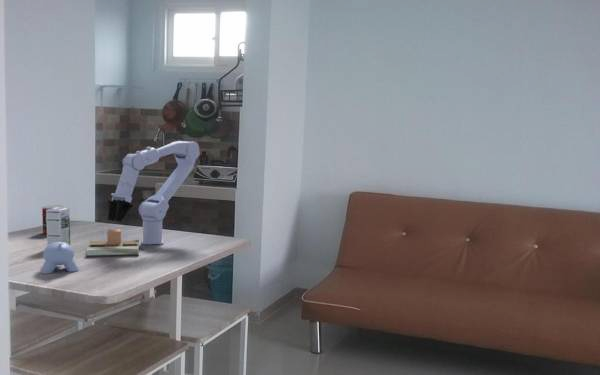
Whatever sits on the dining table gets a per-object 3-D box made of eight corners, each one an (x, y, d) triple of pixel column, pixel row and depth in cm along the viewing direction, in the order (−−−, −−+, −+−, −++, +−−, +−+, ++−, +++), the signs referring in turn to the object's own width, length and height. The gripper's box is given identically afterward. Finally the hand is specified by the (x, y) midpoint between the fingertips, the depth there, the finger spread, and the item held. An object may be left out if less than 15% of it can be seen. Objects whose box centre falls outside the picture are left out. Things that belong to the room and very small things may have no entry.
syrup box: (61, 250, 215) (60, 209, 213) (46, 249, 216) (45, 208, 214) (70, 247, 220) (70, 207, 219) (56, 246, 221) (55, 206, 220)
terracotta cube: (108, 241, 219) (108, 229, 218) (121, 241, 220) (121, 229, 220) (107, 244, 215) (107, 231, 214) (120, 244, 216) (120, 231, 215)
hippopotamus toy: (76, 262, 197) (75, 233, 196) (79, 273, 184) (79, 242, 183) (40, 264, 193) (39, 235, 192) (41, 276, 179) (40, 244, 178)
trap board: (90, 247, 220) (90, 240, 220) (138, 246, 225) (138, 239, 224) (86, 257, 205) (86, 249, 205) (138, 255, 209) (138, 248, 209)
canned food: (38, 233, 244) (38, 206, 242) (52, 230, 251) (51, 204, 250) (54, 235, 241) (54, 208, 240) (67, 232, 249) (67, 205, 248)
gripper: (109, 181, 224) (97, 216, 221) (123, 181, 212) (110, 218, 210) (126, 187, 228) (115, 222, 225) (141, 187, 216) (129, 224, 214)
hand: (114, 220), depth 218 cm, fingers open, 7 cm apart
